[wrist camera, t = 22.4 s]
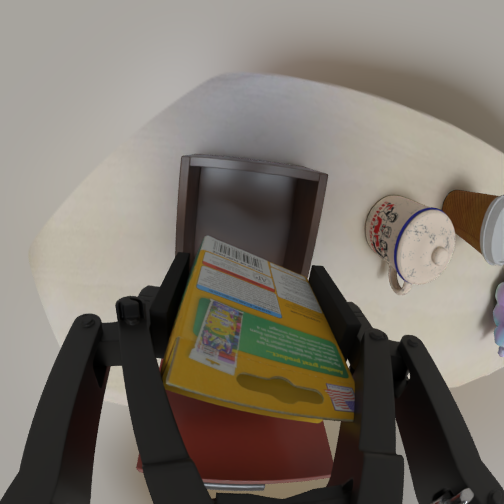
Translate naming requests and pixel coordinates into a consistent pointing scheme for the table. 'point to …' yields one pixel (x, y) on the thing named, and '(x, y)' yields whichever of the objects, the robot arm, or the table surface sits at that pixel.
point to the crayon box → (255, 341)
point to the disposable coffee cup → (478, 222)
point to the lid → (248, 446)
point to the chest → (250, 208)
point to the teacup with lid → (410, 240)
